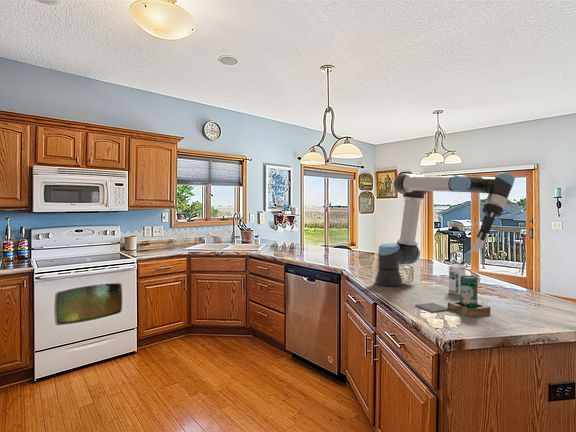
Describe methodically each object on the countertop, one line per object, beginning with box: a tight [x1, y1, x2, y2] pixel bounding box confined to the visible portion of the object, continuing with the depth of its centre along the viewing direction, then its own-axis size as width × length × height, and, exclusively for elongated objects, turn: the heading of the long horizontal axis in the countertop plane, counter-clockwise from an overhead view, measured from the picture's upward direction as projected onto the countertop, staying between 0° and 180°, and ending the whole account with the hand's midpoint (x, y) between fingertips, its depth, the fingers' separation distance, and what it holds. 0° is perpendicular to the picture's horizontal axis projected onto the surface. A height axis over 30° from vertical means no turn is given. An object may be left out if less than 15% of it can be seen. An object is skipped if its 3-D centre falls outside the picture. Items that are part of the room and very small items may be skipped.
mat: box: [414, 302, 451, 314], centre depth 145 cm, size 10×10×1 cm
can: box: [459, 274, 479, 308], centre depth 140 cm, size 6×6×15 cm
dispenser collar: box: [447, 300, 491, 318], centre depth 140 cm, size 11×11×3 cm
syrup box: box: [448, 264, 466, 296], centre depth 170 cm, size 6×6×14 cm
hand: (476, 249), depth 147 cm, fingers open, 13 cm apart
